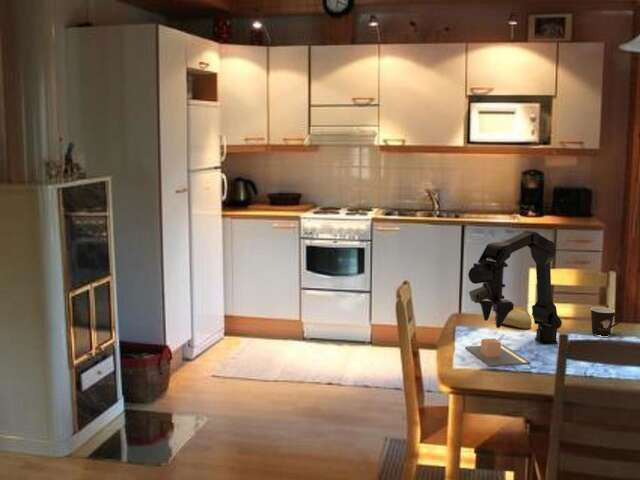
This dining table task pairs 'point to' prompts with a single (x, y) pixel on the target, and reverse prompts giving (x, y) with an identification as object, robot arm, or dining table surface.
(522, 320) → the bread roll
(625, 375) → the dining table surface
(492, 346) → the terracotta block
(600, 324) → the coffee mug
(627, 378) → the dining table surface
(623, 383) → the dining table surface
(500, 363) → the mat
